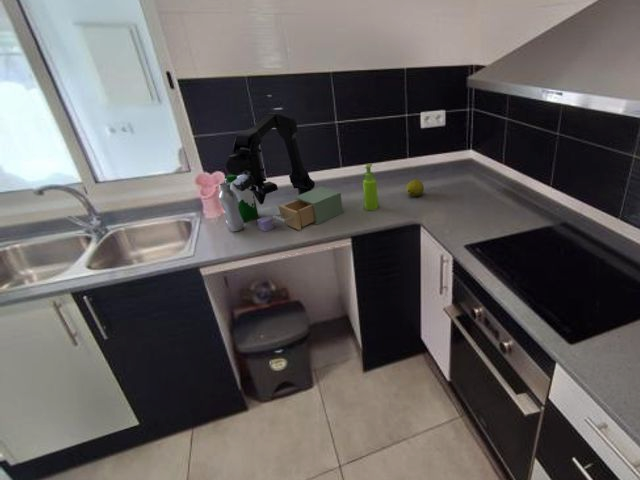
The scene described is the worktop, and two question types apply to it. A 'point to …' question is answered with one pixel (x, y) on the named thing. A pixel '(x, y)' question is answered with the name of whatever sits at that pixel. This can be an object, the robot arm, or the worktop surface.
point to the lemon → (415, 188)
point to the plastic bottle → (230, 207)
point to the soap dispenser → (370, 190)
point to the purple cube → (265, 223)
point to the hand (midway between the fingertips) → (261, 203)
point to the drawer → (296, 214)
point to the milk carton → (244, 200)
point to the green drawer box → (323, 203)
